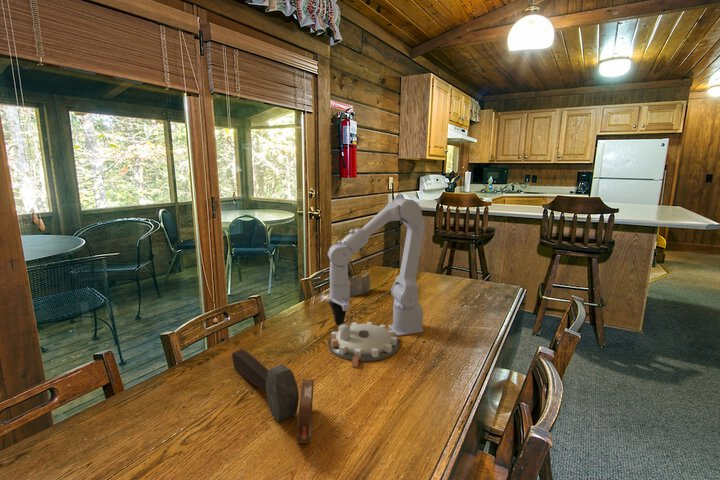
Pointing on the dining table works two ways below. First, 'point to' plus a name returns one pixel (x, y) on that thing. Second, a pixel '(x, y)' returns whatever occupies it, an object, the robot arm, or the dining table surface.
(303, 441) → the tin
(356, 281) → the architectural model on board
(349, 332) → the sprocket wheel
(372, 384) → the dining table surface
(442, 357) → the dining table surface
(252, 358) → the hammer
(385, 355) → the wheel base
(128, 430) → the dining table surface
